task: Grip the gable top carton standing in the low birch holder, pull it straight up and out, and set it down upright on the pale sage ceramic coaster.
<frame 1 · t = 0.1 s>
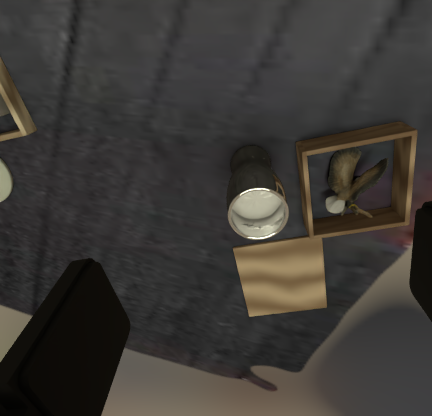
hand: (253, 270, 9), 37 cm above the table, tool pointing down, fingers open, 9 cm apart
wooden board: (281, 277, 57), on the table
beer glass: (250, 164, 47), on the table
display tray: (347, 177, 47), on the table
eagle figurine: (346, 175, 47), on the table
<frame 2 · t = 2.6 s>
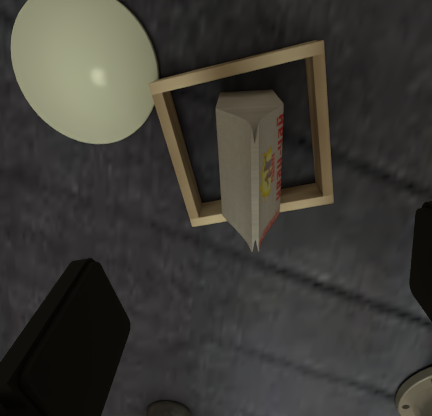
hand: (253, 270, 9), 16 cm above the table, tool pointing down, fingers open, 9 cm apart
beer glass: (169, 411, 42), on the table
gable top carton: (246, 137, 24), on the table
coaster: (89, 71, 22), on the table
holder: (246, 137, 24), on the table
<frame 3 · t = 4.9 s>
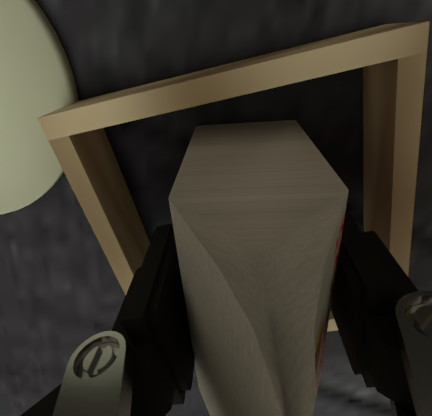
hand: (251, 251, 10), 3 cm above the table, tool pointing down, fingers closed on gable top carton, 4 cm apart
gable top carton: (246, 200, 13), on the table, touching gripper
holder: (246, 203, 13), on the table
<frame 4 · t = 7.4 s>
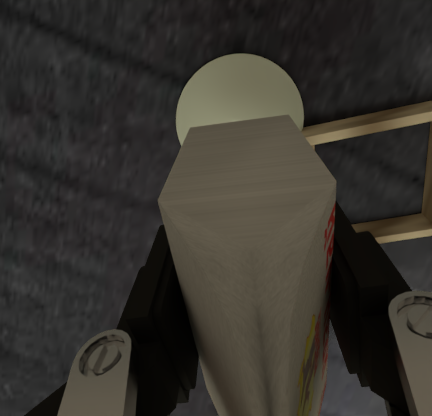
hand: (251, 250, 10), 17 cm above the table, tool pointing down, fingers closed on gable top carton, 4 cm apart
gable top carton: (246, 198, 13), point 13 cm above the table, touching gripper
coaster: (238, 122, 25), on the table
holder: (367, 176, 27), on the table
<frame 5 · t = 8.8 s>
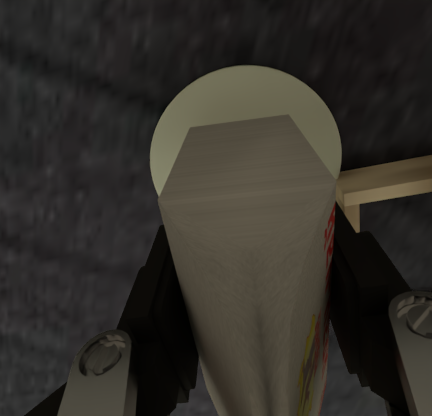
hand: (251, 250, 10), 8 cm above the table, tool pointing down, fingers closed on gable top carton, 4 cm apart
gable top carton: (246, 198, 13), point 4 cm above the table, touching gripper
coaster: (243, 164, 17), on the table
holder: (426, 237, 19), on the table
when the fingers open (5 cm above the table, at t = 10.1 s): gable top carton drops 1 cm, resting on coaster.
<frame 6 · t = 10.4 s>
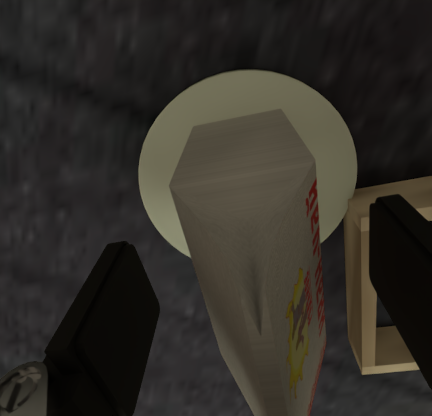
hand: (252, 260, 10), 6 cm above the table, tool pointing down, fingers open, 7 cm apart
gable top carton: (248, 187, 15), point 1 cm above the table, touching coaster
coaster: (244, 180, 15), on the table
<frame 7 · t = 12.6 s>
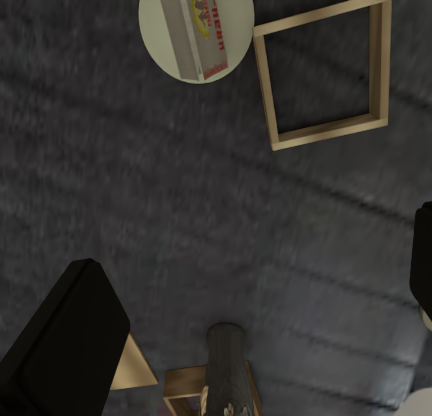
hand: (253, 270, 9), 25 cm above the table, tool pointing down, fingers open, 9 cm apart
wooden board: (97, 362, 53), on the table
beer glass: (225, 334, 49), on the table
display tray: (216, 388, 56), on the table
gable top carton: (198, 23, 27), point 1 cm above the table, touching coaster
coaster: (197, 22, 28), on the table
holder: (317, 75, 30), on the table
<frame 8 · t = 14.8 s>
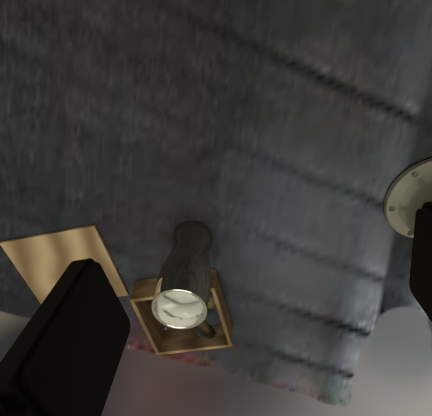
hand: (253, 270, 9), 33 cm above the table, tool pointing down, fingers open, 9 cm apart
wooden board: (67, 268, 54), on the table
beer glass: (193, 236, 50), on the table
display tray: (186, 304, 57), on the table
eagle figurine: (194, 299, 56), on the table
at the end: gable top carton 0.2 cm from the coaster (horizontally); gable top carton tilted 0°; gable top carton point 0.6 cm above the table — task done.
